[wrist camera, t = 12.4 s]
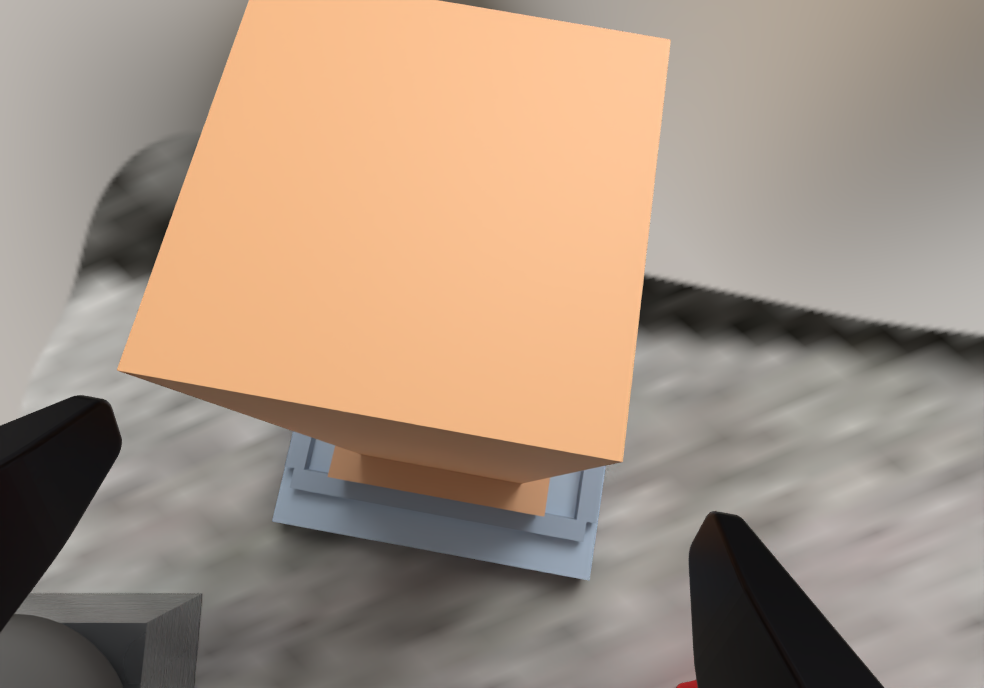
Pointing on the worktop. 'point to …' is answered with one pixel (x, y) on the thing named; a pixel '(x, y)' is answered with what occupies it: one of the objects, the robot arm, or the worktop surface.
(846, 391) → the worktop surface
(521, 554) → the tray
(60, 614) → the axle mount
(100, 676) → the wheel
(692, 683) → the cap
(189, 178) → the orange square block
